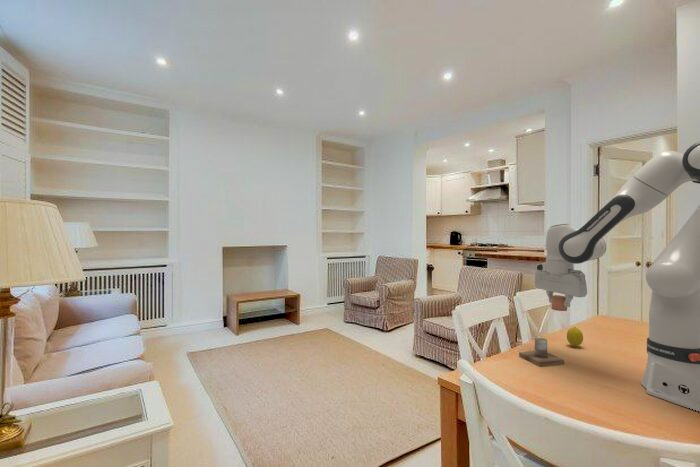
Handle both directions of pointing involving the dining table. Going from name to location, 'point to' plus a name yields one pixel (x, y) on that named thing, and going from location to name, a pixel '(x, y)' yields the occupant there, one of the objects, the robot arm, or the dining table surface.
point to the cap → (558, 303)
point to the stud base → (541, 360)
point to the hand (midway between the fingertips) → (559, 304)
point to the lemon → (574, 336)
